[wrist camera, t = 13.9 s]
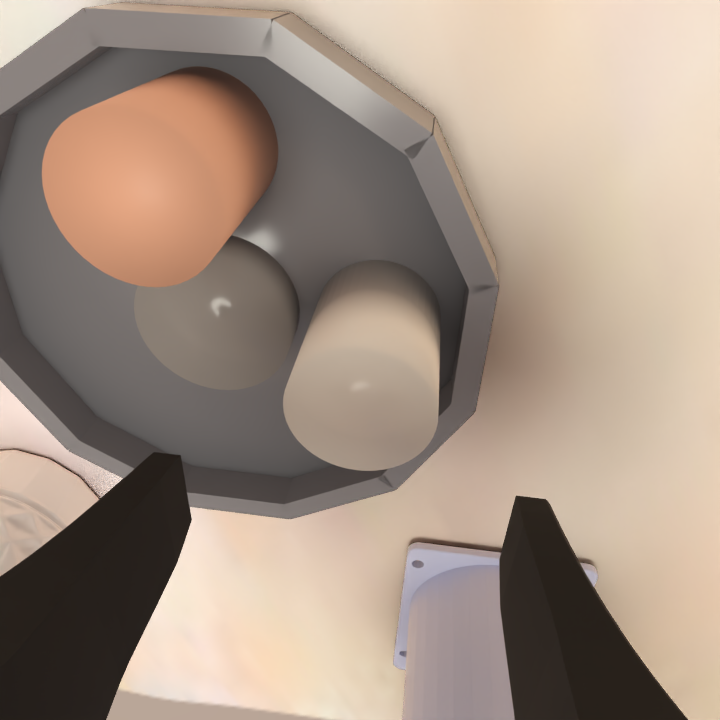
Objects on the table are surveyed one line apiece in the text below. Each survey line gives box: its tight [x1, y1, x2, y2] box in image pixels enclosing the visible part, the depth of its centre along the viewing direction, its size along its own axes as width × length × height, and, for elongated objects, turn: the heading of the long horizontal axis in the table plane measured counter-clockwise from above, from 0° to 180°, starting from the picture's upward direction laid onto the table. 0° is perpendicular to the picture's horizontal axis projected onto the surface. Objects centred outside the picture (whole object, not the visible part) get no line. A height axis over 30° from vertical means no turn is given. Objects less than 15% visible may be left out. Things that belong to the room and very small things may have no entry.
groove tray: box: [0, 2, 499, 519], centre depth 20 cm, size 17×17×2 cm
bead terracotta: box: [42, 66, 278, 287], centre depth 15 cm, size 4×4×5 cm
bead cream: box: [283, 260, 441, 471], centre depth 18 cm, size 4×4×5 cm
